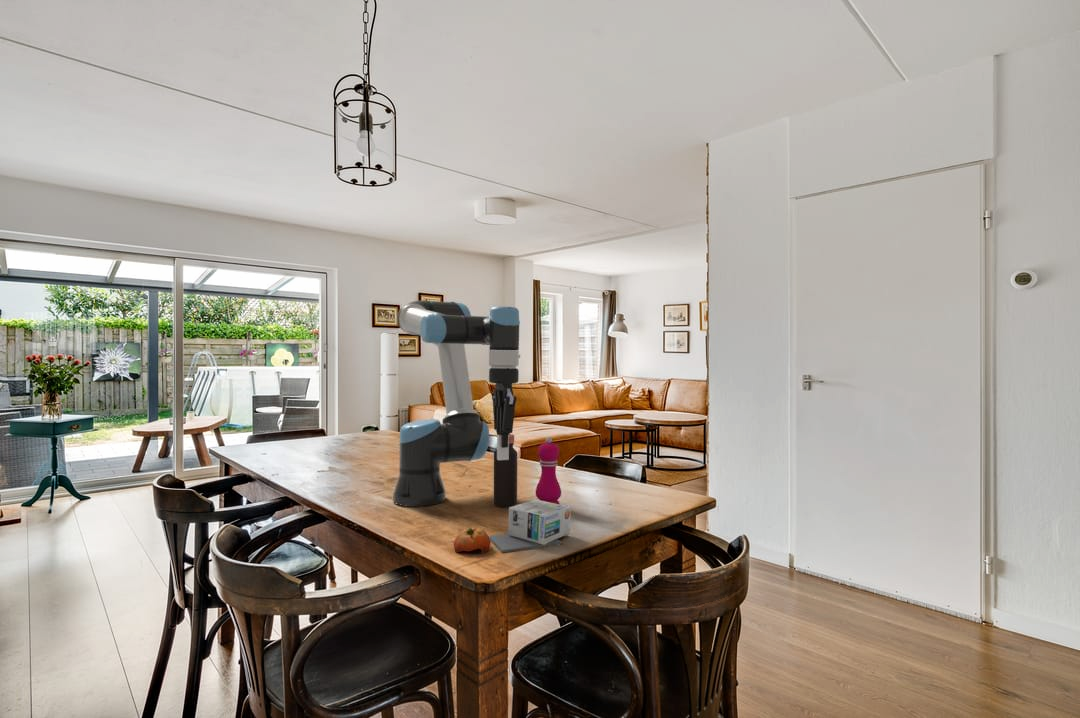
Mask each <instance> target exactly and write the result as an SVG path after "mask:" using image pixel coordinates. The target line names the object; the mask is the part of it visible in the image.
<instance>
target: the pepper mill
mask: <svg viewBox="0 0 1080 718" xmlns="http://www.w3.org/2000/svg"><path fill="white" fill-rule="evenodd" d="M552 441H553V439H552V437H549V436H547V437H546V438H545V442H544V443H542V444H540V445H539V447H538V450H537V455H538V456H539V458H540V459H539V465H540V467H541V468H540V469H541V473H540V478H539V481H538V482H537V485H536V488H535V496H536V498H537V500H541V501H545V502H550V503H554V504H558V505H560V501H559V499H560V498H561V496H562V488H561V486H560V485H561V484H560V483H559V481H558V478H557V473H556V470H557V469H556V468H557V466H558V460H557V459H558V457H559V455H560V448H559V446H558V444H556V443H554V442H552Z"/></svg>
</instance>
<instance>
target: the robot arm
mask: <svg viewBox="0 0 1080 718" xmlns="http://www.w3.org/2000/svg"><path fill="white" fill-rule="evenodd" d="M489 310H490V311H489V316H482V315H480V316H479V315H472V314H471V311H470V309H469V307H468V306H467V305H466V304H464V303H461V302H455V301H434V300H414V301H410V302H408V303H406V304H404V305H403V306H402V307H401V308H400V309H399V310H398V312H397V318H396V320H397V324H398V327H399V328H400V329H401V330H402V331H403V332H405V333H407V334H409V335H413V336H420V337H421V340H422V341H423V342H424V343H425V344H433V345H435V346H436V347H437V349H438V356H439V363H440V365H439V366H440V372H441V380H442V388H443V397H444V404H445V411H446V414H445V416H444V417H443V418H442V423H441V421H440V420H439V419H436V418H430V419H420V420H415V421H411V422H407V423H404V424H403V425H402V426H401V428H400V430H399V439H398V443H399V461H398V462H399V464H398V465H399V474H398V479H397V482H396V483H395V487H394V490H393V492H392V493H393V494H392V502H393V501H394V502H395V503H397V504H401V505H400V506H402V505H407V506H406V507H425V506H424V505H428V506H433V505H432V504H434V505H437V503H438V504H440V503H443V502H444V501H446V489H445V486H444V482H443V480H442V477H441V473H440V470H441V469H440V465H441V464H442V463H443V464H444V463H453V462H455V463H456V462H466V461H467V462H471V461H475V460H476V461H477V460H480V459H482V458H484V456H485V455H486V453H487V450H488V447H489V442H490V429H489V426H488V424H487V422H486V421H484V420H482V421H481V418H480V414H479V412H477V411H475V410H474V404H473V403H474V401H473V395H472V389H471V383H470V381H471V380H470V374H469V370H468V368H469V366H468V361H467V355H466V348H465V345H483V346H485V345H486V346H489V347H488V348H489V349H488V365H489V366H490V367H491V368H489V371H488V381H489V383H491V384H495V388H494V391H493V392H491V399H492V410H493V426H494V427H493V429H494V430H495V432H496V436H497V437H496V449H497V460H509V434H513V429H514V420H515V418H514V417H515V408H516V402H517V396H515V395H514V390H513V384H517V383H518V382H519V378H520V377H519V374H520V373H519V369H518V368H517V367H518V366H519V359H520V358H521V355H520V354H519V352H520V351H519V349H520V348H519V346H520V323H521V321H520V310H519V309H518V308H517V307H514V306H492V307H491V309H489ZM442 501H443V502H442ZM394 502H393V503H394ZM395 503H394V504H395ZM397 504H396V505H397Z"/></svg>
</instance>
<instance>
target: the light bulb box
mask: <svg viewBox="0 0 1080 718" xmlns="http://www.w3.org/2000/svg"><path fill="white" fill-rule="evenodd" d="M571 514H572V507H571V506H568V505H562V504H559V505H558V504H554V503H550V502H545V501H541V500H539V499H538V498H537V499H532V500H529V501H526V502H523V503H520V504H517V505H516V506H512V507H508V527H507V534H508V535H510V536H514V537H518V538H521V539H525V540H528V541H532V542H535V543H538V544H542V545H546V544H548V543H550V542H552V541H554V540H556V539H557V540H559V539H560V538H562V537H565V536H568V535H570V534H571V518H572V517H571Z"/></svg>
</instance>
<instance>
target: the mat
mask: <svg viewBox="0 0 1080 718" xmlns="http://www.w3.org/2000/svg"><path fill="white" fill-rule="evenodd" d="M488 536H489V539H490V543H492V544H493V545H494V546H495V547H496V548H497V549H498V550H499V551H500V552H501V553H508V552H509V553H510V552H517V551H521V550H529V549H530V550H531V549H536V548H543V547H551V546H559V544H560V545H562V542H561V541H560V540H559V539H556V540H554V541H552V542H550V543H548V544H546V545H542V544H538V543H535V542H532V541H528V540H525V539H521V538H518V537H514V536H510V535H508V533H502V534H501V533H500V534H495V535H488Z"/></svg>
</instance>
